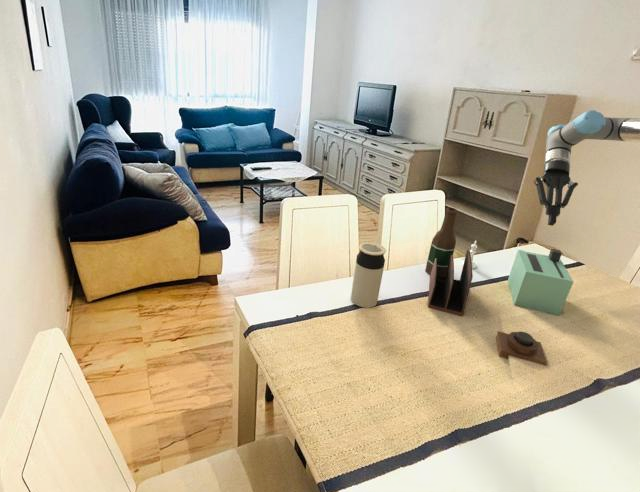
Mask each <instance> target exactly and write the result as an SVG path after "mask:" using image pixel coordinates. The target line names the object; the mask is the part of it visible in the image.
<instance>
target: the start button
mask: <svg viewBox="0 0 640 492" xmlns="http://www.w3.org/2000/svg"><path fill="white" fill-rule="evenodd" d="M516 332H517V334H516V337H515V340H516V341H517V342H518V343H520V344H522V345H525V346H531V344H532V341H533V339H534V337H533V336H532V335H531V334H530V333H528V332H526V331H516Z"/></svg>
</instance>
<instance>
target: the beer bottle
mask: <svg viewBox="0 0 640 492" xmlns="http://www.w3.org/2000/svg"><path fill="white" fill-rule="evenodd" d="M444 214H445V215H444V217H443V221H442V224H441V227H440V229H439V230H438V231H437V232H436V233H435V235H434V236H433V237H432V240H431V244H430V247H429V253H428V257H427V260H426V265H425V273H426V274H428V276H430V275H431V271H432V268H433V264H434V261H435V258H437V276H441V277H445V276H446V272H447V268H448V264H449V260H450V256H451V254H452V255H453V256H454V252H455V248H456V244H457V237H456V235H455V232H454V227H455V221H456V216H457V215H458V209H456V208H455V207H446V209H445V213H444Z"/></svg>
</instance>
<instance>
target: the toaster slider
mask: <svg viewBox="0 0 640 492" xmlns="http://www.w3.org/2000/svg"><path fill="white" fill-rule="evenodd" d="M562 255H563V253H562V251H561V249H556V248H550V251H549V254H548V255H547V256H548V257H549V259H550V260H552V261H557V262H559V260H560V259H561V257H562Z"/></svg>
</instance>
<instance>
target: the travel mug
mask: <svg viewBox="0 0 640 492" xmlns="http://www.w3.org/2000/svg"><path fill="white" fill-rule="evenodd" d="M358 249H359V252H358V253H357V255H356V258H355V259H356V260H355V266H354V273H353V280H352V286H351V293H350V300H351V302H352V303H353V304H354V305H355V306H358V307H361V308H368V309H370V308H374V307H375V306H377V304H378V301H379V295H380V290H381V285H382V279H383V274H384V268H385V263H386V258H385V256H384V255H385V254H386V252H387V249H386V247H384V246H383V245H382V244H379V243H377V242H362V243H360V245H359V246H358Z"/></svg>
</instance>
